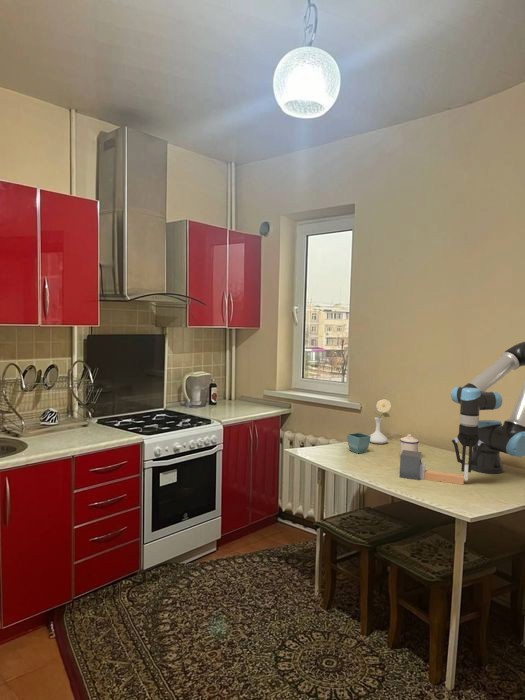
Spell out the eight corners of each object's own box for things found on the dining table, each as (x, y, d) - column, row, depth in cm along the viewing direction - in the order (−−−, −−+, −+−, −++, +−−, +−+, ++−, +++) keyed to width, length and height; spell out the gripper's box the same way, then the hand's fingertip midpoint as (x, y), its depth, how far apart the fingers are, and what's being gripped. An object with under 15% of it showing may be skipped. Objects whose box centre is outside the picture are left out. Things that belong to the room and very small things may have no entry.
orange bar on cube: (463, 481, 217) (464, 468, 217) (463, 485, 212) (464, 471, 212) (410, 474, 225) (411, 461, 225) (409, 477, 221) (410, 464, 220)
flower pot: (370, 453, 259) (371, 436, 258) (358, 455, 254) (359, 437, 253) (358, 449, 266) (358, 432, 266) (345, 451, 261) (346, 434, 261)
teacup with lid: (421, 459, 250) (422, 436, 249) (404, 460, 248) (406, 437, 247) (409, 453, 261) (410, 431, 261) (393, 453, 259) (394, 431, 259)
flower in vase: (363, 442, 281) (365, 398, 280) (372, 439, 290) (374, 396, 288) (384, 446, 273) (386, 401, 271) (394, 443, 281) (396, 398, 280)
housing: (420, 474, 226) (421, 452, 225) (418, 480, 217) (419, 457, 217) (402, 471, 229) (403, 449, 228) (399, 477, 220) (400, 454, 220)
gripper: (485, 424, 214) (482, 479, 215) (452, 421, 219) (449, 474, 220) (486, 428, 207) (482, 484, 208) (452, 424, 212) (449, 479, 213)
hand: (465, 479), depth 214 cm, fingers closed
